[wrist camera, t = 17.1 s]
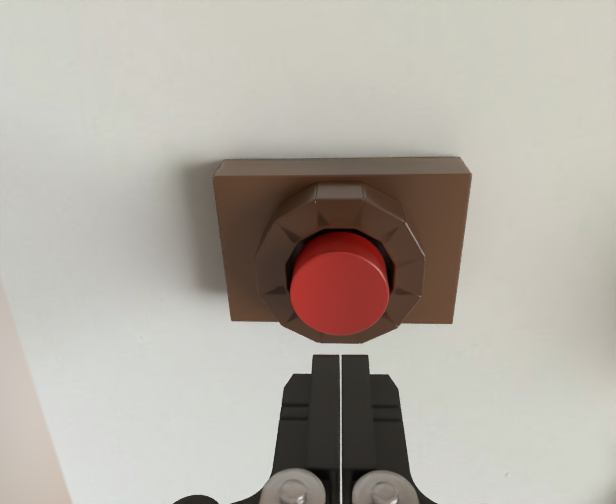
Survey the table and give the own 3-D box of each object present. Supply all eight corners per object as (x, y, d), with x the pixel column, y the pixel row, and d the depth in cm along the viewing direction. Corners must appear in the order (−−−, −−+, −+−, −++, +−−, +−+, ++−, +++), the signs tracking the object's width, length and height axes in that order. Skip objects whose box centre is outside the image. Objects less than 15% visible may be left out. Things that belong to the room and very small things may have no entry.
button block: (239, 295, 24) (222, 346, 21) (223, 159, 21) (200, 193, 18) (444, 297, 24) (461, 350, 20) (460, 156, 20) (484, 191, 17)
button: (295, 309, 20) (292, 335, 19) (291, 230, 19) (287, 252, 17) (384, 310, 20) (387, 336, 18) (387, 230, 18) (392, 252, 17)
